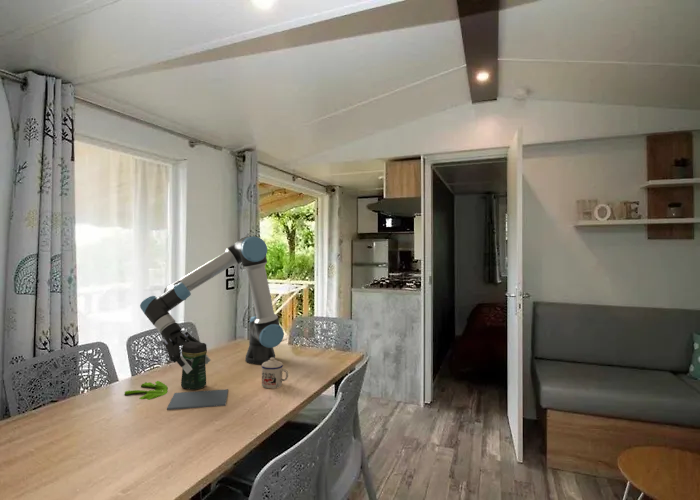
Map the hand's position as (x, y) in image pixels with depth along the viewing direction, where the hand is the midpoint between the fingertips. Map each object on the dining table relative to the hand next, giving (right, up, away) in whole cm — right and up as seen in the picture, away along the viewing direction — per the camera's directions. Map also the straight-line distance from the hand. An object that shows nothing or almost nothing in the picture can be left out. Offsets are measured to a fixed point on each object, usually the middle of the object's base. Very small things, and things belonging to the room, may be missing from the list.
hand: (199, 366), depth 160 cm
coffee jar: (-3, -9, +1) cm, 9 cm away
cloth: (-20, -9, -4) cm, 22 cm away
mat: (+5, -9, -13) cm, 16 cm away
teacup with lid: (+31, -9, +4) cm, 32 cm away
